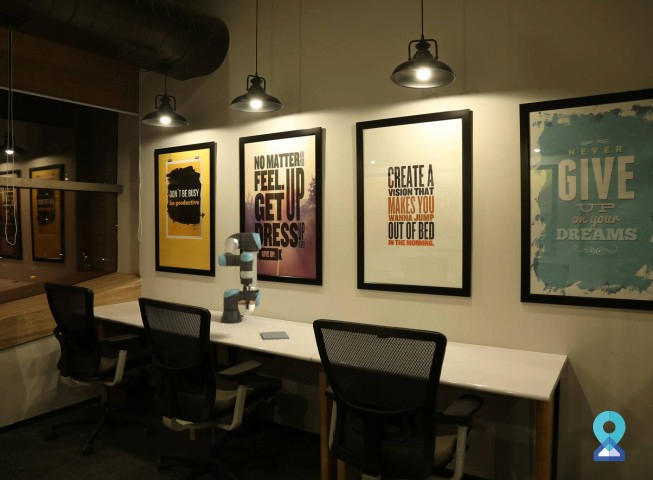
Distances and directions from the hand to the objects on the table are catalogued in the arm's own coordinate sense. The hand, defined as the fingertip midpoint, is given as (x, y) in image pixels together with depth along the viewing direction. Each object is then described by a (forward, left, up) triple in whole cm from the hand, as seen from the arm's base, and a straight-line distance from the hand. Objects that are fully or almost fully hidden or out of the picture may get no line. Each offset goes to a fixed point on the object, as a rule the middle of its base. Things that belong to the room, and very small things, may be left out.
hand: (246, 312), depth 300 cm
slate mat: (0, +18, -16) cm, 24 cm away
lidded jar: (0, 0, -1) cm, 1 cm away
